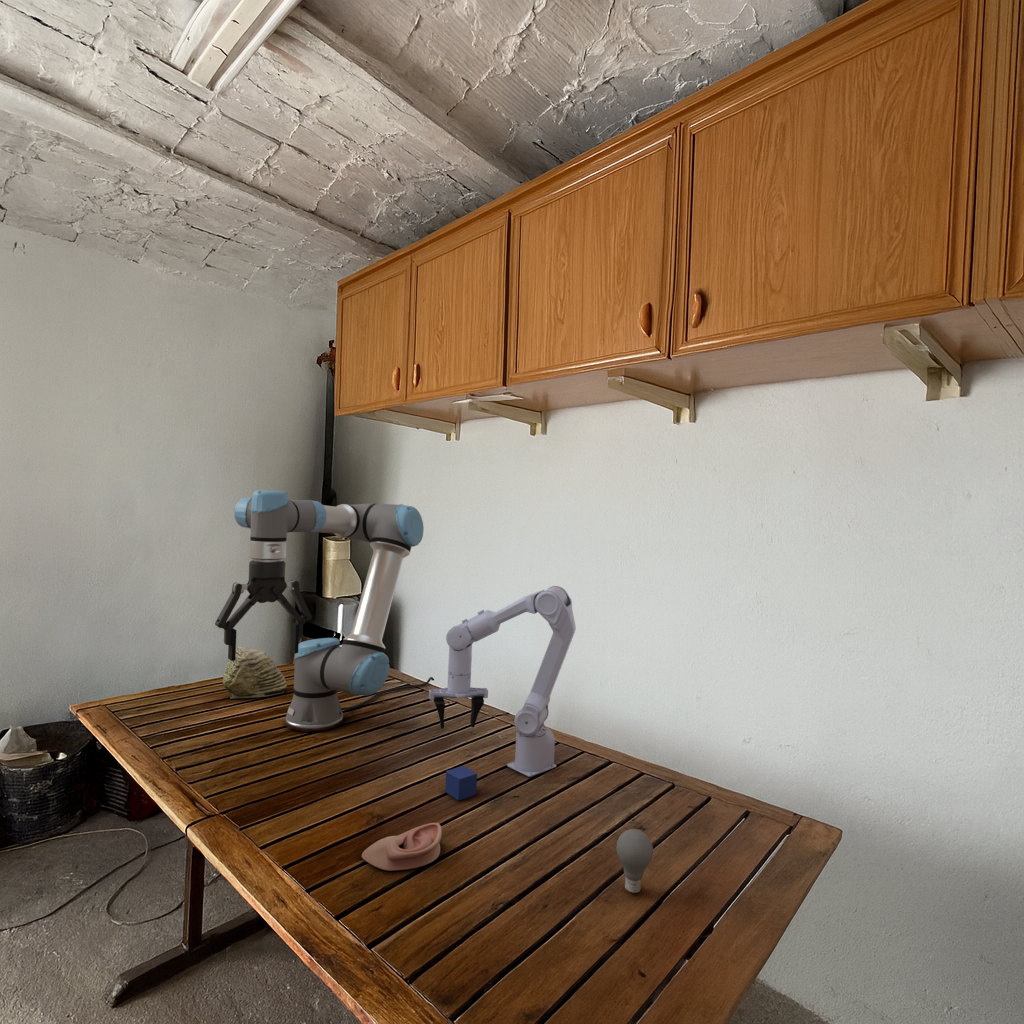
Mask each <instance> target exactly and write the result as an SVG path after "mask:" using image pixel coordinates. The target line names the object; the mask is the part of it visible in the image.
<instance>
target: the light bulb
mask: <svg viewBox="0 0 1024 1024" xmlns="http://www.w3.org/2000/svg"><path fill="white" fill-rule="evenodd" d="M615 849H616V854H617V857H618V859H619V861H620V863H621V865H622V867H623V873H624V874H623V875H624V876H625V878H624V888H625V890H627V891H628V892H630V893H634V894H635V893H639V892H640V891H641V889H642V887H641V886H642V879H643V877H644V875H645V871H646V868H647V867H648V866H649V864H650V863H651V861H652V859H653V855H654V847H653V843H652V841H651V838H649V836H648V835H647V834H646V833H645V832H643V831H642V830H641V829H636V828H629V829H627V830H625V831H623V832H622V833H621V834H620V835H619V837H618V839H617V841H616V847H615Z"/></svg>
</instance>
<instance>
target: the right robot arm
mask: <svg viewBox="0 0 1024 1024" xmlns="http://www.w3.org/2000/svg"><path fill="white" fill-rule="evenodd" d="M524 613H529V614H533V615H536V614H537V613H538V614H539V615H540V616H541V617H542V618H543V619H544V620H545V621H546V622H547V623H548V625H549V627H550V628H551V631H552V634H551V637H550V640H549V641H548V645H547V647H546V650H545V652H544V655H543V658H542V661H541V664H540V666H539V668H538V671H537V674H536V677H535V678H534V681H533V683H532V686H531V690H530V692H529V694H528V695H527V697H526V700H525V701H524V704H523V706H522V707H521V709H520V710H518V711H517V712H516V714H515V716H514V720H513V721H514V722H513V723H514V727H515V729H516V730H515V750H514V752H515V753H514V761H512V762H509V763H507V764H506V766H507V767H508V768H510V769H512V770H513V771H516V772H518V773H520V774H522V775H524V776H526V777H528V778H532V777H534V776H537V775H540V774H542V773H545V772H547V771H550V770H552V769H556V768H557V764H556V763H555V752H556V751H555V748H556V739H555V735H554V732H553V731H552V729H550V728H549V727H547V726H546V725H545V722H546V720H547V719H548V717H549V714H550V713H549V704H550V702H551V695H552V692H553V690H554V688H555V685H556V682H557V680H558V677H559V675H560V672H561V669H562V666H563V665H564V661H565V659H566V657H567V654H568V652H569V648H570V646H571V643H572V640H573V639H574V636H575V633H576V629H577V627H576V621H575V616H574V615H575V614H574V611H573V601H572V598H571V597H570V595H569V594H568V592H567V590H565V588H563V587H562V586H559V585H552V586H549V587H548V588H547V589H542V590H538V591H535V592H532V593H529V594H527V595H525V596H523V597H521V598H519V599H517V600H516V601H514V602H512V603H509V604H508V605H506V606H505V607H502V608H501V609H498V610H497V611H492V610H490V609H486V610H485V609H481V610H479V611H477V614H476V615H475V616H473V617H471V618H469V619H468V618H465V619H463V620H461V623H459V624H457V625H454V626H452V627H451V628H450V629H449V630H448V631H447V633H446V635H445V636H446V637H445V640H446V644H447V645H448V663H447V664H448V666H447V667H448V668H447V687H443V688H442V687H441V688H437V689H436V688H435V689H429V690H428V699H429V700H430V701H433V702H434V705H435V707H436V710H437V714H438V718H439V719H438V720H439V727H440V729H441V730H443V729H445V710H446V709H445V708H446V704H445V699H469V698H470V701H471V702H470V705H471V708H470V709H471V710H470V720H469V721H470V722H469V723H470V724H469V725H470V727H471V728H476V727H475V726H476V722H477V719H478V717H479V716H478V715H479V713H480V711H481V710H482V708H483V706H484V705H485V699H489V698H488V697H489V689H487V688H486V687H472V686H471V683H472V682H471V681H472V657H473V654H472V653H473V644H474V643H475V642H479V641H481V640H483V639H485V638H487V637H489V636H491V635H493V634H495V633H497V632H498V631H499V630H500V626H501V624H504V623H506V622H507V621H509V620H511V619H514V618H516V617H518V616H520V615H522V614H524Z"/></svg>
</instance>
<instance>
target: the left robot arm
mask: <svg viewBox="0 0 1024 1024" xmlns="http://www.w3.org/2000/svg"><path fill="white" fill-rule="evenodd" d="M233 512H234V513H233V516H234V519H235V522H236V524H237V525H239V526H240V527H241V528H246V529H249V530H250V538H249V539H250V541H249V558H250V560H249V561H250V562H248V580H247V583H239V582H236V581H235V582H234V583H232V587H231V593H230V594H229V597H228V599H227V600H226V602H225V604H224V606H223V607H222V609H221V611H220V613H219V615H218V616H217V618H216V620H215V622H214V626H216V627H218V629H223V632H224V633H223V643H224V644H225V646H227V647H228V648H227V659H228V660H229V659H230V660H231V661H235V658H236V649H237V629H235V627H236V626H237V625H238V623H239V622H240V621H241V620H242V618H244V616H245V615H246V614H248V612H249V611H250V609H251V608H252V607H253V606H255V605H256V604H257V603H259V604H265V603H275V602H276V601H277V602H278V603H279V604H280V605H281V606H282V608H284V610H285V611H286V612H287V613H288V614H289V615H290V617H291V619H293V620H294V621H295V622H291V629H290V631H291V632H290V633H291V634H290V652H292V653H293V654H294V657H293V659H294V660H293V662H294V663H293V665H294V667H293V695H292V696H293V697H292V699H291V702H290V704H289V706H288V709H287V713H286V715H285V726H286V728H287V729H289V730H291V731H294V732H295V731H296V732H301V733H316V732H325V731H329V730H332V729H335V728H337V727H339V726H340V725H342V723H343V722H344V713H343V711H349V710H350V711H351V710H353V709H356V708H360V707H362V706H364V705H366V704H368V703H369V702H371V701H374V699H376V698H377V697H379V696H381V695H383V694H386V693H390V692H396V691H400V690H406V689H413V688H414V689H415V688H420V687H425V686H427V685H428V684H430V682H431V681H435V678H434V677H433V676H430V677H429V678H428V679H427V680H426V681H425V682H423V683H419V684H413V685H412V684H411V685H405V686H398V687H392V688H388V689H385V690H382V691H379V690H381V688H382V687H383V686H384V684H385V683H386V681H387V678H388V675H389V673H390V666H391V665H390V664H389V663H390V659H389V656H388V655H387V654H385V652H386V646H385V644H384V643H383V638H384V635H385V629H386V625H387V622H388V618H389V614H390V611H391V606H392V603H393V599H394V594H395V590H396V587H397V583H398V580H399V575H400V571H401V568H402V564H403V561H404V559H405V558H406V557H408V556H409V555H410V554H411V550H412V548H413V547H416V546H419V545H420V543H421V542H422V540H423V537H424V521H423V517H422V515H421V513H420V511H419V510H418V509H417V508H416V507H415V506H413V505H408V504H407V505H406V504H402V503H400V504H393V503H391V504H389V503H372V502H371V503H370V502H369V503H357V504H349V503H348V504H347V503H341V504H338V505H336V506H334V505H333V506H332V505H324V504H323V503H321V502H320V501H317V500H312V499H289V494H288V492H287V491H285V490H269V489H268V490H265V489H257V490H254V491H253V493H252V496H251V497H243V498H242V499H239V501H237V502H236V504H235V507H234V511H233ZM288 533H323V534H334V535H335V537H338V538H347V539H353V540H357V541H361V542H366V543H370V544H369V546H370V547H371V549H372V550H373V552H372V556H371V559H370V563H369V567H368V570H367V574H366V578H365V581H364V585H363V588H362V592H361V595H360V598H359V603H358V607H357V610H356V613H355V617H354V621H353V625H352V628H351V632H350V634H349V635H347V636H346V637H344V638H343V641H342V643H340V640H339V638H336V637H322V638H313V639H307V640H304V641H302V642H300V638H302V637H303V635H304V625H305V624H306V622H308V621H311V620H312V619H313V616H312V614H311V612H310V610H309V607H308V605H307V603H306V601H305V599H304V597H303V594H302V592H301V590H300V582H299V581H298V580H295V579H291V580H290V581H286V565H287V563H286V561H285V559H286V558H287V540H288V539H287V538H288ZM286 589H288V591H290V593H291V596H292V597H293V599H294V601H295V603H296V605H297V608H298V610H299V612H300V614H299V612H298V611H297V610H296V609H295V608H294V606H293V605H292V604H291V603H290V602H289V600H288V598H287V597H286V596H285V595H284V594H283V593H284V592H285V590H286ZM245 591H247V592H248V595H247V596H246V598H245V599H244V601H243V602H242V603H241V604H240V606H239V607H238V608H237V609H235V607H236V605H237V603H238V601H239V599H240V598H241V595H242V594H244V593H245ZM234 609H235V611H234V613H232V612H233V610H234ZM231 614H232V615H231ZM340 644H341V645H340ZM378 691H379V692H378ZM338 692H342V693H347V694H351V695H353V696H354V695H355V696H365V697H369V696H371V697H370V698H368V699H366V700H363V701H362V702H359V703H357V704H354V705H351V706H344V707H343V706H341V702H340V699H339V695H338ZM372 695H373V696H372Z"/></svg>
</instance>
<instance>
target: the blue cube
mask: <svg viewBox="0 0 1024 1024" xmlns="http://www.w3.org/2000/svg"><path fill="white" fill-rule="evenodd" d="M477 789H478V773H477V772H475V771H474V770H472V769H471V768H469V767H467V766H465V765H461V766H457V767H454V768H451V769H447V770H446V771H445V787H444V791H445V793H446V794H447V795H449V796H451V797H452V798H454V799H455V800H457V801H462V800H465V799H468V798H471V797H473V796H477Z"/></svg>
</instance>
